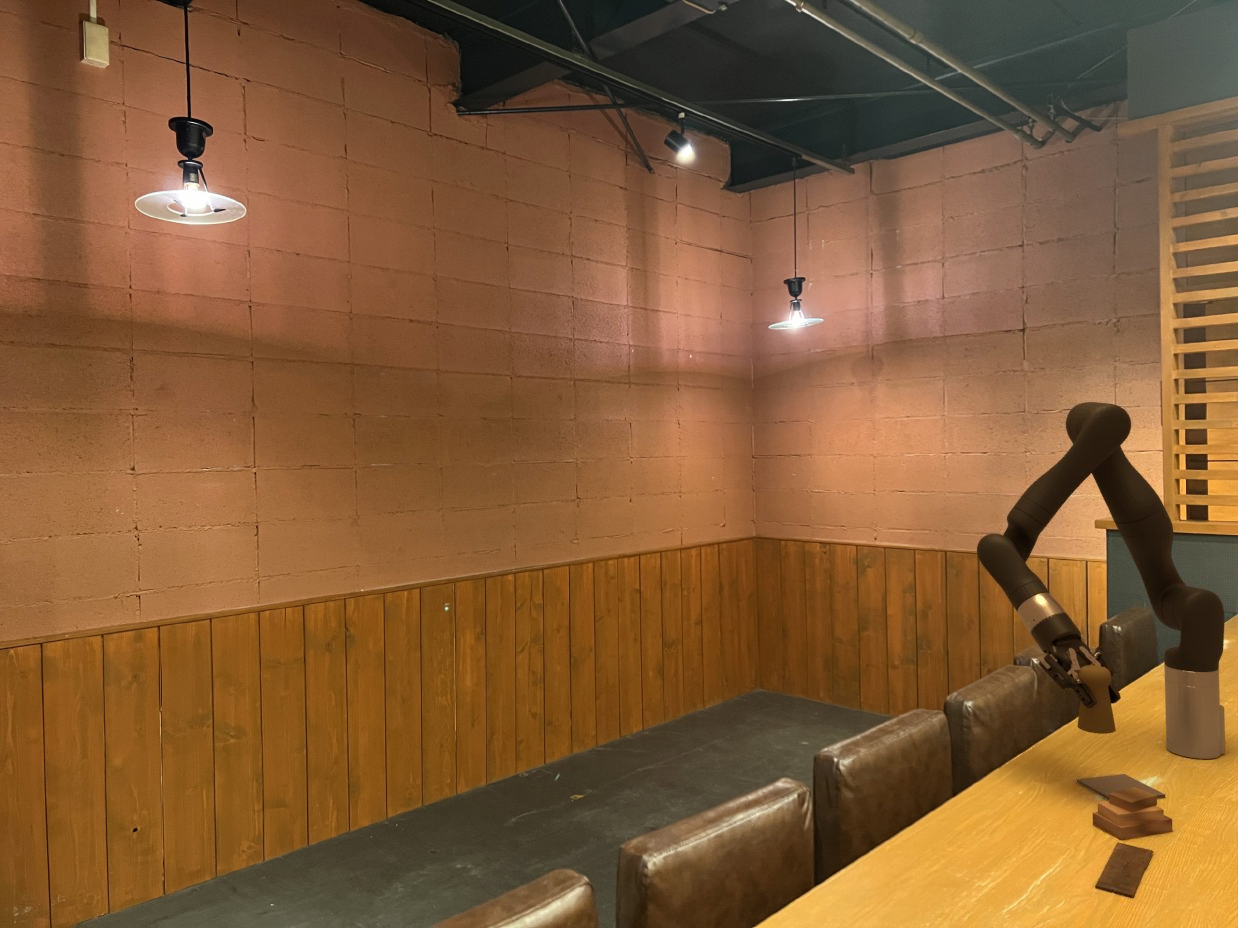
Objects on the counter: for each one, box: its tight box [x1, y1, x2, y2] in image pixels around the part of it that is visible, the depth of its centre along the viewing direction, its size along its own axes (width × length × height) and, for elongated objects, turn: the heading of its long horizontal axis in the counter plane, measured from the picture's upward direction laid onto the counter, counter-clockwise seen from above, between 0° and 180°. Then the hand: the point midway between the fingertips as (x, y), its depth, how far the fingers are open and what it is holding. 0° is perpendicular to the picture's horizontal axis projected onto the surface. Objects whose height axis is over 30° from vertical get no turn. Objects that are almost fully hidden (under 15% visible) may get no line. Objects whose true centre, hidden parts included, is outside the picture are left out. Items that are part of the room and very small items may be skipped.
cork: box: [1077, 664, 1117, 735], centre depth 157 cm, size 6×6×11 cm
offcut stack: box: [1091, 787, 1173, 841], centre depth 145 cm, size 10×6×5 cm, turn 104°
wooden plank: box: [1094, 842, 1154, 899], centre depth 132 cm, size 17×1×5 cm
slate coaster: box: [1075, 773, 1166, 801], centre depth 161 cm, size 10×10×1 cm
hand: (1104, 702), depth 155 cm, fingers closed on cork, 5 cm apart
